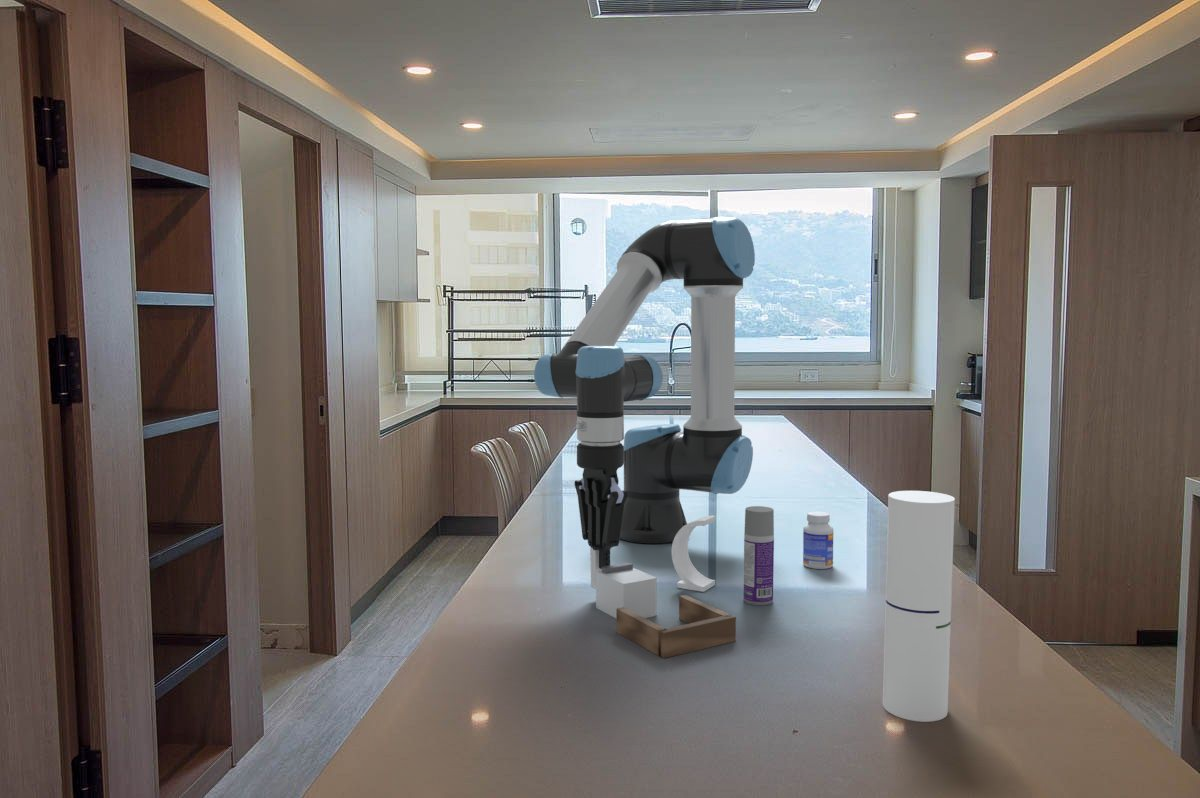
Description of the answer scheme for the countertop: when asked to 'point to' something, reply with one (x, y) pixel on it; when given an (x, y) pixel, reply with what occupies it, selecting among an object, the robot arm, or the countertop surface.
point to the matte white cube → (626, 590)
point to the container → (758, 555)
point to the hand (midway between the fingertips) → (600, 586)
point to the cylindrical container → (918, 604)
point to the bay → (679, 629)
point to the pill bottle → (818, 541)
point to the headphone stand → (683, 562)
